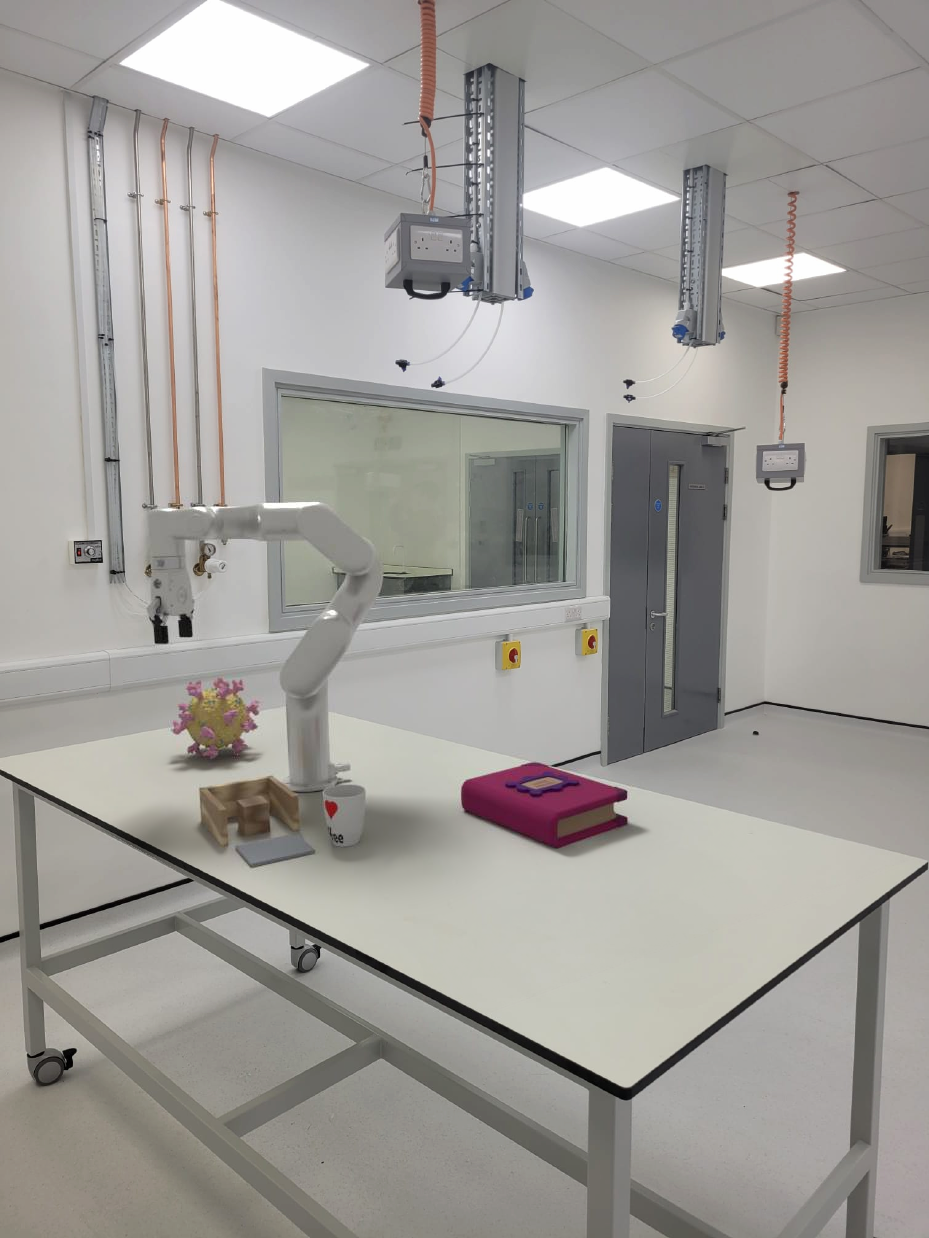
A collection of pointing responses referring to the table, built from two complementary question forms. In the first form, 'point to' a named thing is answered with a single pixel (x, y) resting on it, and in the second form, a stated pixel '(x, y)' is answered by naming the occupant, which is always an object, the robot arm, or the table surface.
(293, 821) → the oak u-shaped frame
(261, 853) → the mat
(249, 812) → the block
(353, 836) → the cup
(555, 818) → the book
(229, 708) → the educational model
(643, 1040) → the table surface
